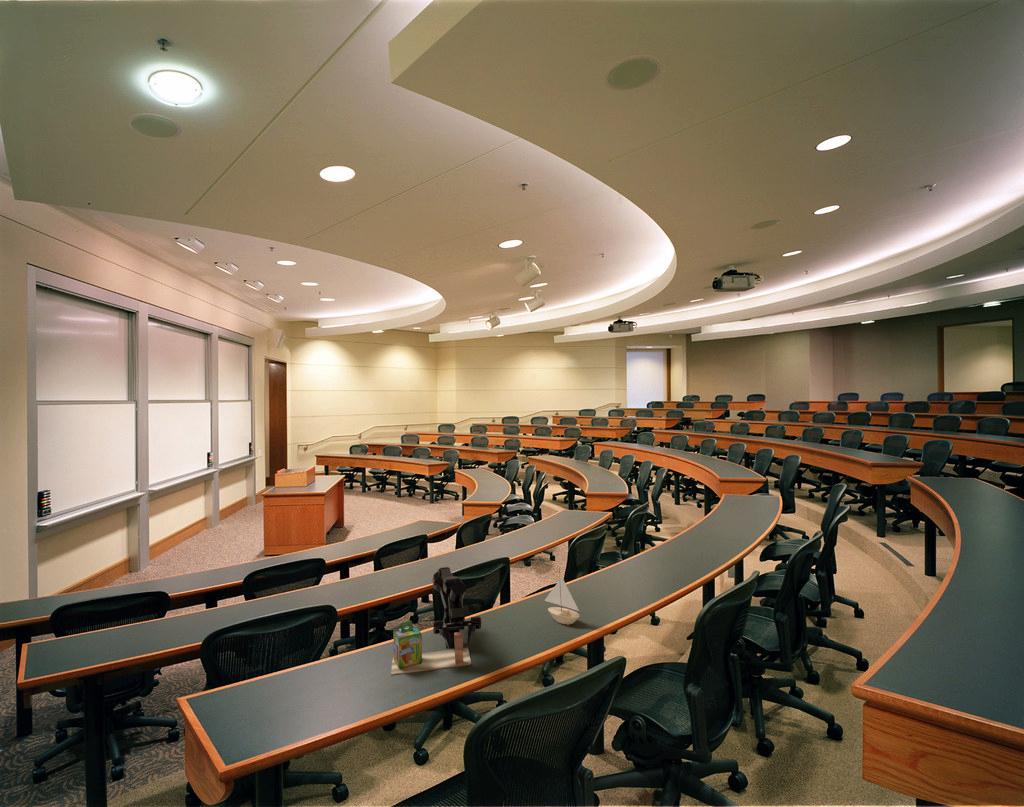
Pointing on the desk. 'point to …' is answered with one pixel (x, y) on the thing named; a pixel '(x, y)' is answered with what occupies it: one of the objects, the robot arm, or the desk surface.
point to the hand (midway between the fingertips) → (459, 647)
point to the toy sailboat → (562, 603)
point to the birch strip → (439, 659)
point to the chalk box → (407, 646)
